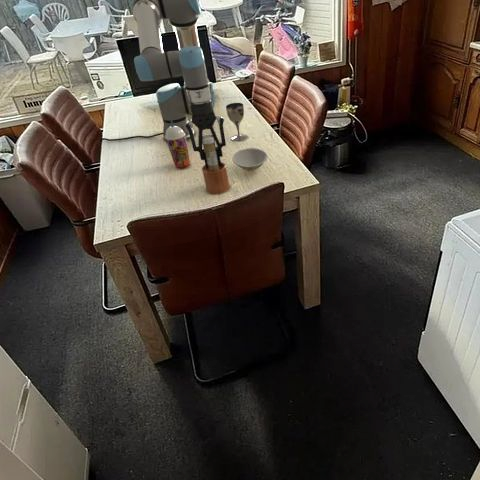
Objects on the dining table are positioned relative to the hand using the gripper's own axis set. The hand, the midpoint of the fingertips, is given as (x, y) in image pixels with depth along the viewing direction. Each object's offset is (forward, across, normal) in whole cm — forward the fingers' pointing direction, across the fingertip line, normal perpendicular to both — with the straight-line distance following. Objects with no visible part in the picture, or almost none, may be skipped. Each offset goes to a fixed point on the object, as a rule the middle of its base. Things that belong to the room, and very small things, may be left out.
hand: (213, 166), depth 143 cm
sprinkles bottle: (+2, 0, 0) cm, 2 cm away
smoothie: (+9, -12, +26) cm, 30 cm away
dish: (+9, +15, +12) cm, 21 cm away
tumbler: (+9, 0, 0) cm, 9 cm away
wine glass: (+9, +16, +46) cm, 49 cm away
